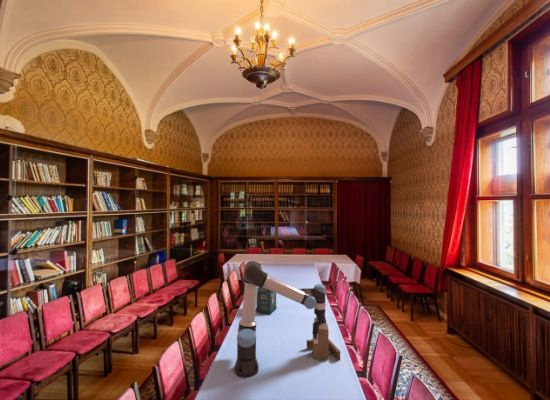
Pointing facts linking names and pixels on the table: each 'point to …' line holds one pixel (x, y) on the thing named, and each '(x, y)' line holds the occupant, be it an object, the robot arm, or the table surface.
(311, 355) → the pad
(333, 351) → the wooden corner bracket
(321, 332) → the wooden block
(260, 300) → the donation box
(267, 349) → the table surface
